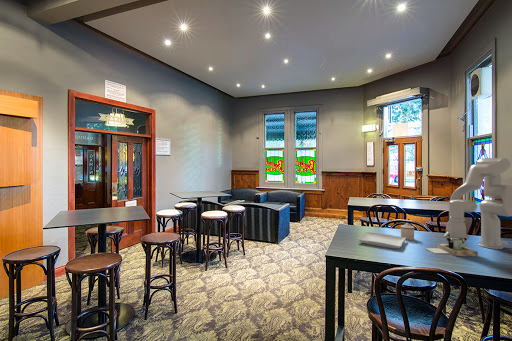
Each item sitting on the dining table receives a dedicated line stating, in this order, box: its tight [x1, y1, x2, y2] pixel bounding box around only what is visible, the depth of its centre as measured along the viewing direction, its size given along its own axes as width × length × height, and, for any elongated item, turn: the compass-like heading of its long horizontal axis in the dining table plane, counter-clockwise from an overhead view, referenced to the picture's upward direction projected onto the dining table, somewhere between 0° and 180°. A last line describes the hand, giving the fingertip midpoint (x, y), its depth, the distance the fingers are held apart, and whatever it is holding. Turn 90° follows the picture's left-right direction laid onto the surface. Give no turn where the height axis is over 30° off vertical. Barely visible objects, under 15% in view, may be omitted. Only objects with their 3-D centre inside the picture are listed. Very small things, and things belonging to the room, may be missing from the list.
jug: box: [450, 238, 467, 250], centre depth 160 cm, size 10×6×8 cm, turn 178°
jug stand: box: [436, 243, 479, 257], centre depth 162 cm, size 14×16×2 cm
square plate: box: [357, 231, 406, 249], centre depth 182 cm, size 27×27×4 cm
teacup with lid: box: [400, 222, 415, 241], centre depth 193 cm, size 12×9×12 cm
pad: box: [425, 247, 450, 255], centre depth 162 cm, size 9×9×1 cm
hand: (456, 247), depth 162 cm, fingers closed on jug, 5 cm apart
